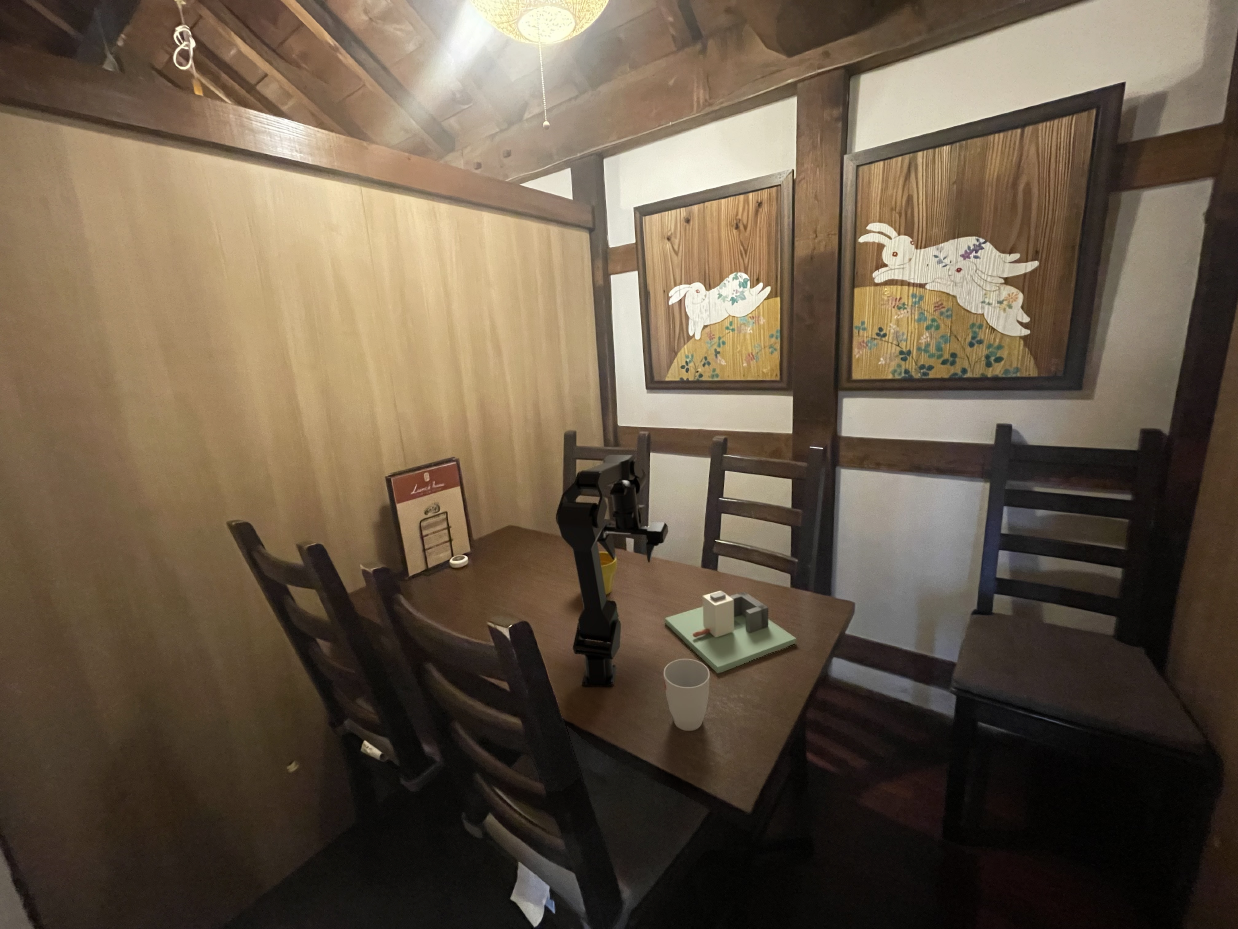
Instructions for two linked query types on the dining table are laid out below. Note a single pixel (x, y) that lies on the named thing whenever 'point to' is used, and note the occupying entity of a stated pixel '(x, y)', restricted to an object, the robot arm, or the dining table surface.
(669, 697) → the cup
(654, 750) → the dining table surface
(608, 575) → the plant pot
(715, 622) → the plug
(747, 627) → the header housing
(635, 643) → the dining table surface
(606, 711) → the dining table surface
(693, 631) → the board
